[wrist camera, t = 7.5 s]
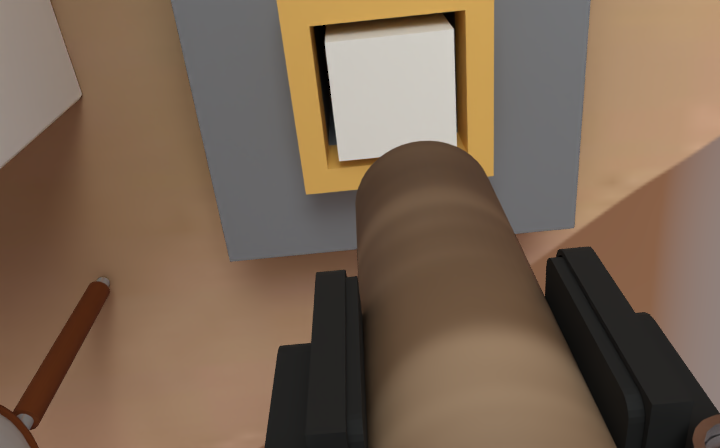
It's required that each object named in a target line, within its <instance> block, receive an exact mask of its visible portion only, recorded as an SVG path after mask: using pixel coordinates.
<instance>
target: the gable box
mask: <svg viewBox="0 0 720 448" xmlns="http://www.w3.org/2000/svg"><path fill="white" fill-rule="evenodd" d="M81 95H82V93H81V90H80V87H79V84H78V81H77V78H76V75H75V72H74V69H73V66H72V63H71V61H70V58H69V55H68V52H67V49H66V46H65V43H64V40H63V37H62V34H61V31H60V28H59V25H58V22H57V19H56V17H55V14H54V11H53V8H52V5H51V2H50V0H0V169H1V168H2V167H3V166H5V165H6V164H7V163H8V162H9V161H10V160H11V159H12V158H14V157H15V156H16V155H17V154H18V153H19V152H20V151H21V150H23V149H24V148H25V147H26V146H27V145H28V144H29V143H31V142H32V141H33V140H34V139H35V138H36V137H37V136H38V135H40V134H41V133H42V132H43V131H44V130H45V129H46V128H47V127H49V126H50V125H51V124H52V123H53V122H54V121H55V120H56V119H58V118H59V117H60V116H61V115H62V114H63V113H64V112H65V111H67V110H68V109H69V108H70V107H71V106H72V105H73V104H74V103H76V102H77V101H78V100H79V99H80V97H81Z"/></svg>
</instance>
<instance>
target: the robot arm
mask: <svg viewBox="0 0 720 448" xmlns="http://www.w3.org/2000/svg"><path fill="white" fill-rule="evenodd" d="M545 298H546V300H547V302H548V304H549V307H550V309H551V311H552V313H553V315H554V317H555V319H556V321H557V323H558V325H559V327H560V330H561V332H562V334H563V336H564V338H565V340H566V342H567V344H568V346H569V348H570V350H571V353H572V355H573V357H574V359H575V361H576V363H577V365H578V367H579V369H580V371H581V374H582V376H583V378H584V380H585V382H586V384H587V386H588V388H589V390H590V392H591V394H592V397H593V399H594V401H595V403H596V405H597V407H598V409H599V411H600V413H601V415H602V417H603V420H604V422H605V424H606V426H607V428H608V430H609V432H610V434H611V436H612V438H613V440H614V443H615V445H616V447H617V448H720V413H719V412H718V410H717V409H716V407H715V406H714V405H713V403H712V402H711V400H710V399H709V397H708V396H707V394H706V393H705V392H704V390H703V389H702V387H701V386H700V384H699V383H698V382H697V380H696V379H695V377H694V376H693V374H692V373H691V372H690V370H689V369H688V367H687V366H686V364H685V363H684V362H683V360H682V359H681V357H680V356H679V354H678V353H677V352H676V350H675V349H674V347H673V346H672V344H671V343H670V342H669V340H668V339H667V337H666V336H665V334H664V333H663V331H662V330H661V329H660V327H659V326H658V324H657V323H656V321H655V320H654V319H653V318H652V317H651V316H650V314H648V313H645V312H642V313H635V312H634V310H633V309H632V307H631V306H630V304H629V303H628V301H627V300H626V298H625V297H624V295H623V294H622V292H621V291H620V289H619V288H618V286H617V285H616V283H615V282H614V280H613V279H612V277H611V276H610V274H609V273H608V271H607V270H606V268H605V267H604V265H603V264H602V262H601V261H600V259H599V258H598V256H597V255H596V253H595V252H594V250H593V249H592V248H591V247H579V248H568V249H559V250H558V252H557V255H556V257H555V258H549V259H548V260H547V266H546V287H545ZM265 448H368V437H367V414H366V391H365V368H364V346H363V323H362V310H361V301H360V293H359V284H358V277H357V276H355V277H347V276H346V271H345V270H337V271H326V272H317V273H316V280H315V295H314V310H313V324H312V339H311V343H306V344H295V345H284V346H280V347H279V349H278V354H277V361H276V368H275V375H274V383H273V390H272V397H271V405H270V412H269V419H268V427H267V434H266V441H265Z"/></svg>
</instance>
